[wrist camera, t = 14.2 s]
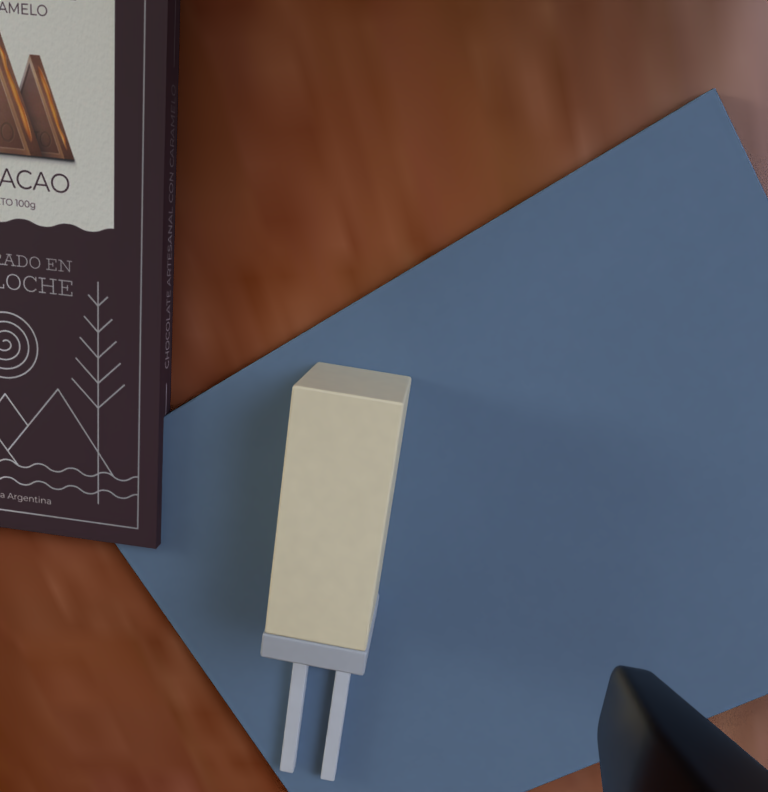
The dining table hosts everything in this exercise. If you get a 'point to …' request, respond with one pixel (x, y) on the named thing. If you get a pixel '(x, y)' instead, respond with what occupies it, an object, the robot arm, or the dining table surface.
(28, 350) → the chocolate bar
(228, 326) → the dining table surface
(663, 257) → the placemat
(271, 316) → the dining table surface
